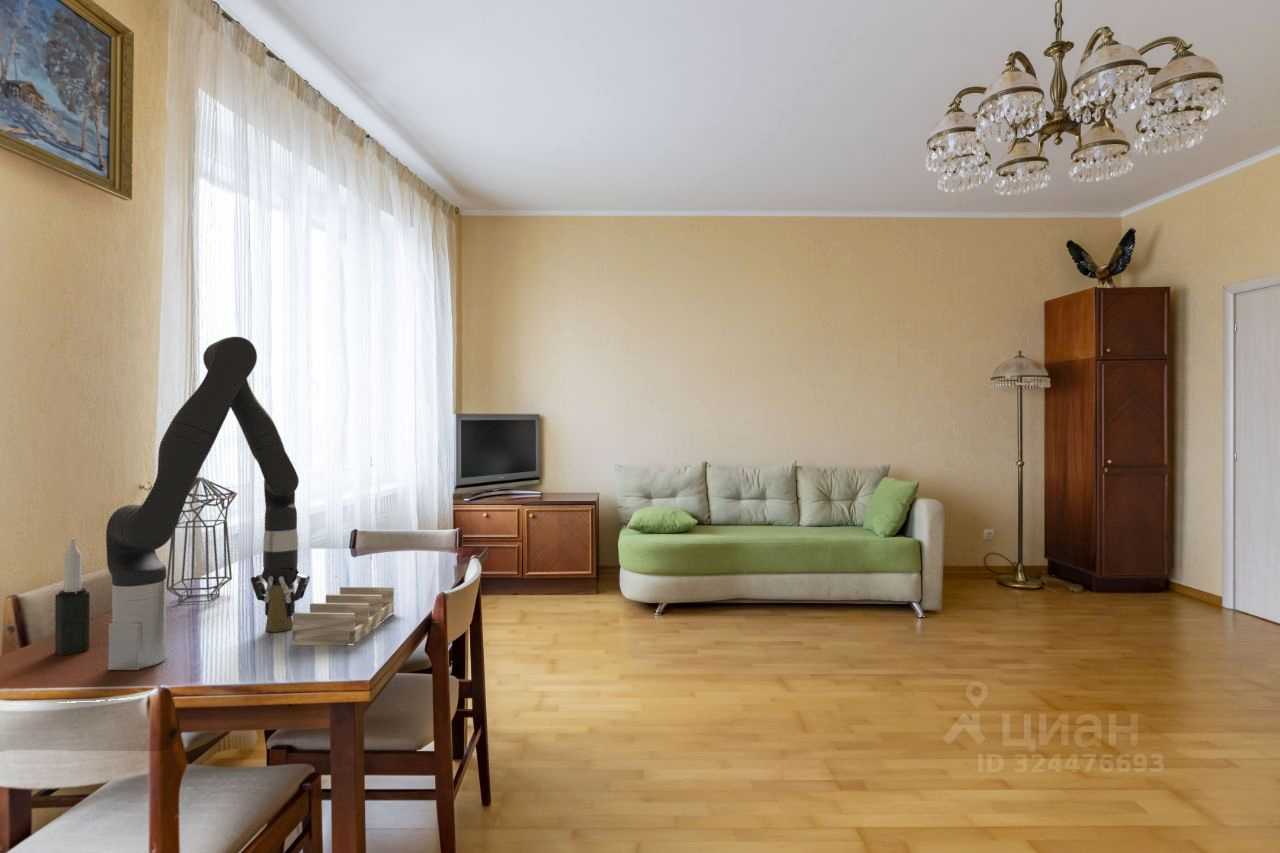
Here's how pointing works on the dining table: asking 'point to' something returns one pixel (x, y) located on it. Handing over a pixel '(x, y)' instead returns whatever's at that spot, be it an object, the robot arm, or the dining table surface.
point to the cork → (277, 611)
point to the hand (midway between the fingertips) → (280, 616)
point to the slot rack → (343, 616)
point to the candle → (72, 607)
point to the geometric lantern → (172, 544)
